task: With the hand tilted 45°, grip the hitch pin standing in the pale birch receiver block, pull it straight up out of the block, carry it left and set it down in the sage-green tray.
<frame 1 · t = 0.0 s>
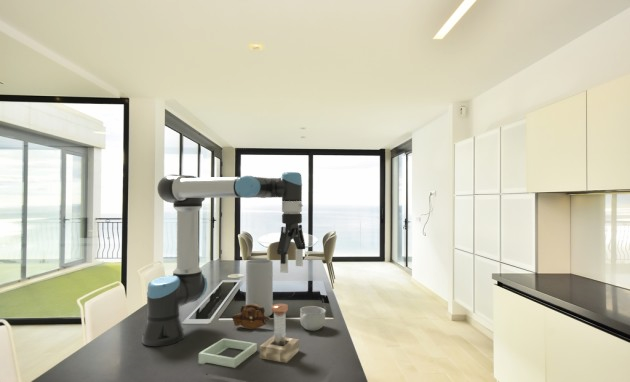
hand: (292, 269, 139), 28 cm above the kitchen island, tool pointing down, fingers open, 13 cm apart
receiver block: (279, 357, 127), on the kitchen island
teacup: (310, 329, 154), on the kitchen island
wooden carving: (250, 329, 155), on the kitchen island
tray: (228, 358, 126), on the kitchen island
hitch pin: (279, 354, 127), point 1 cm above the kitchen island, touching receiver block
cylinder vase: (259, 314, 174), on the kitchen island
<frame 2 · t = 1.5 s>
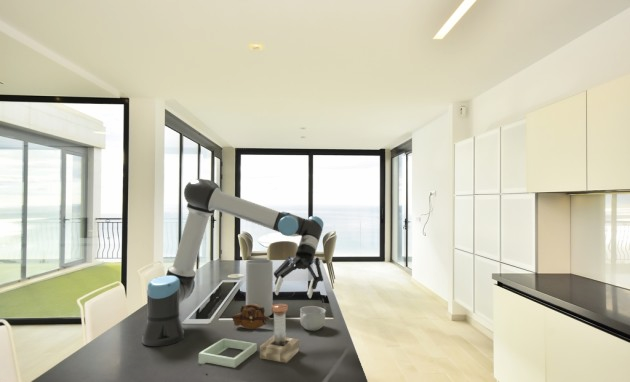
hand: (292, 294, 137), 19 cm above the kitchen island, tool tilted 45°, fingers open, 13 cm apart
nothing on the kitchen island moved.
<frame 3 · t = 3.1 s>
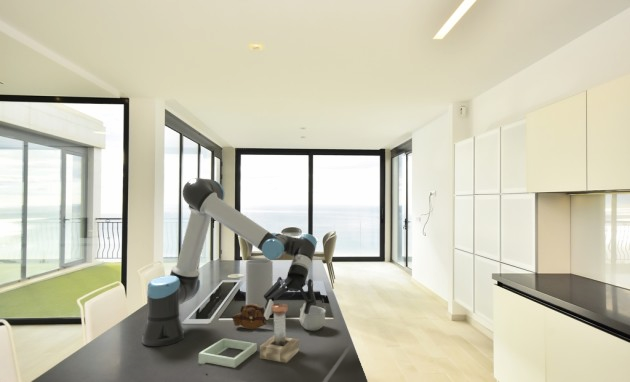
hand: (283, 319, 129), 12 cm above the kitchen island, tool tilted 45°, fingers open, 13 cm apart
nothing on the kitchen island moved.
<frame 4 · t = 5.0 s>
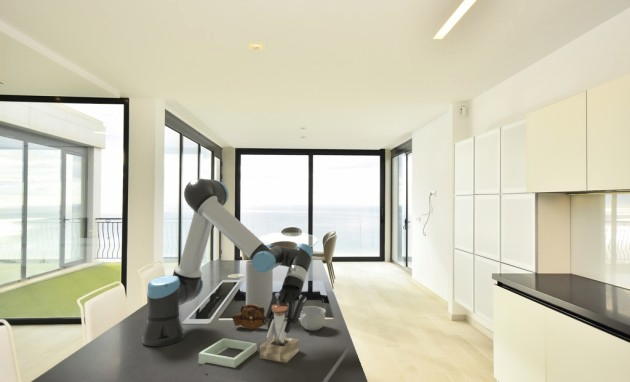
hand: (274, 340, 123), 7 cm above the kitchen island, tool tilted 45°, fingers closed on hitch pin, 4 cm apart
hitch pin: (279, 354, 127), point 1 cm above the kitchen island, touching gripper, receiver block
everything else where it was.
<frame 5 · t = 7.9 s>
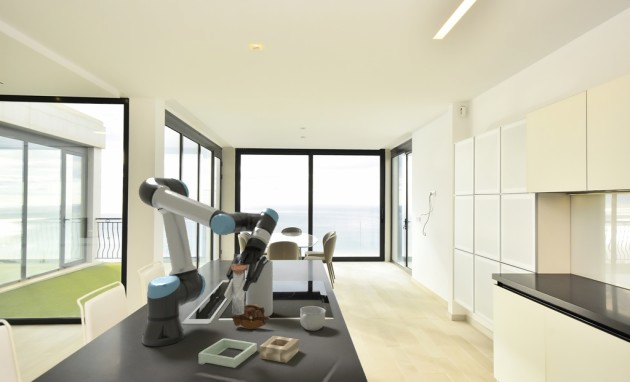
hand: (232, 297, 123), 21 cm above the kitchen island, tool tilted 45°, fingers closed on hitch pin, 4 cm apart
hitch pin: (238, 313, 126), point 15 cm above the kitchen island, touching gripper
everything else where it was.
when the fingers open (8 cm above the kitchen island, at t = 11.1 s): hitch pin drops 1 cm, resting on tray.
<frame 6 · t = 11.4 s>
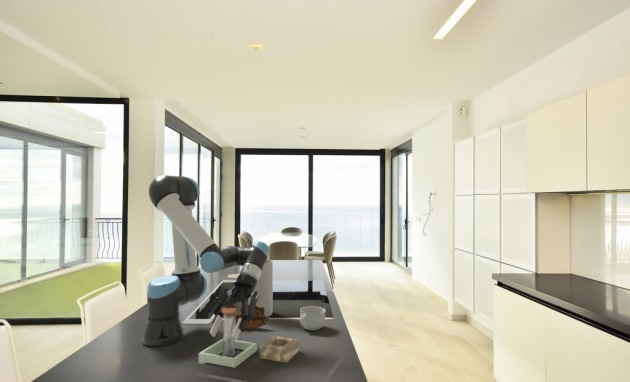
hand: (222, 336, 123), 9 cm above the kitchen island, tool tilted 45°, fingers open, 8 cm apart
hitch pin: (228, 356, 126), point 1 cm above the kitchen island, touching tray
everything else where it was.
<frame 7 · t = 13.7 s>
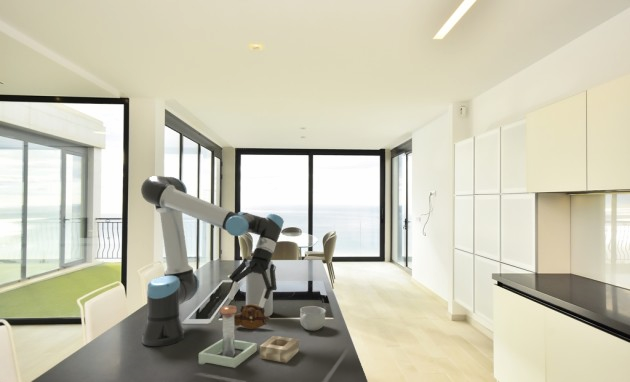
hand: (245, 302, 139), 15 cm above the kitchen island, tool tilted 30°, fingers open, 13 cm apart
nothing on the kitchen island moved.
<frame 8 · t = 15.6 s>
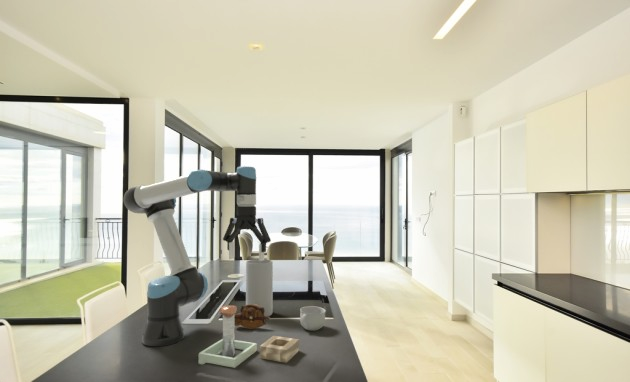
hand: (246, 259, 145), 31 cm above the kitchen island, tool pointing down, fingers open, 13 cm apart
nothing on the kitchen island moved.
at the end: hitch pin inside the target area on the tray (0.0 cm from its centre), point 0.6 cm above the tray's base; hitch pin touching tray; the gripper is holding nothing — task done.
